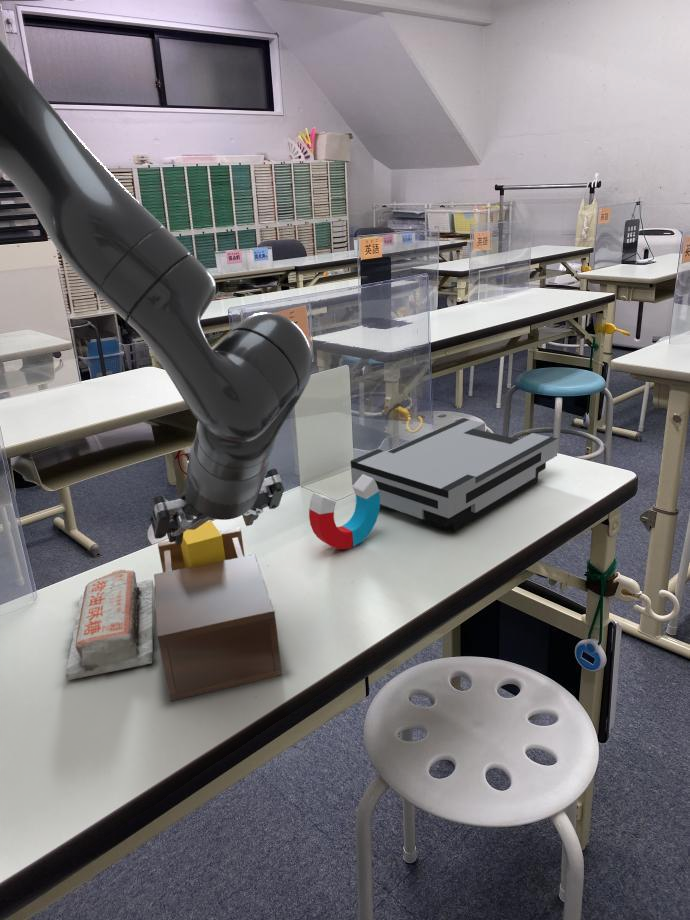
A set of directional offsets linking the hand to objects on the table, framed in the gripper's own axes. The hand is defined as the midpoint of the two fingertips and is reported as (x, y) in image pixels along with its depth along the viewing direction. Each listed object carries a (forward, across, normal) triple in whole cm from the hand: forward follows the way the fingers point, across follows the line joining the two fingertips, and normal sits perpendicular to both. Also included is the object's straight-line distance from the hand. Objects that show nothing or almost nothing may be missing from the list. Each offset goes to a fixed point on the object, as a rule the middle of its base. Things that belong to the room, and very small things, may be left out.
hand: (211, 527), depth 81 cm
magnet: (+20, -23, +2) cm, 31 cm away
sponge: (+15, 0, +4) cm, 15 cm away
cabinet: (+8, +2, +13) cm, 16 cm away
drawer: (+17, 0, +3) cm, 17 cm away
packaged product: (+17, +13, +5) cm, 21 cm away
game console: (+25, -49, -4) cm, 55 cm away
